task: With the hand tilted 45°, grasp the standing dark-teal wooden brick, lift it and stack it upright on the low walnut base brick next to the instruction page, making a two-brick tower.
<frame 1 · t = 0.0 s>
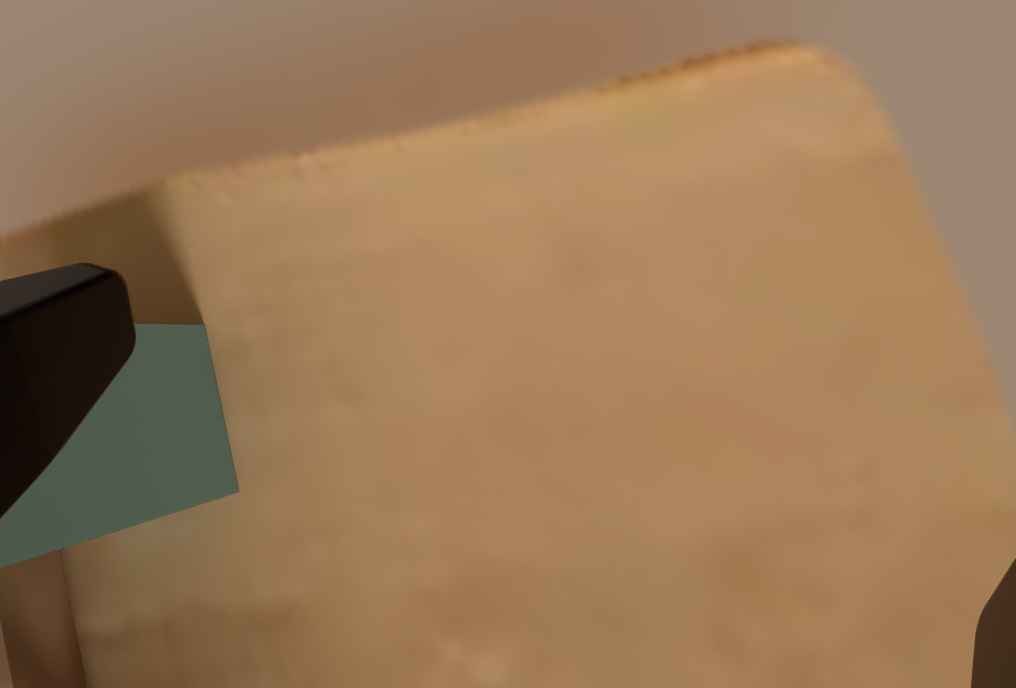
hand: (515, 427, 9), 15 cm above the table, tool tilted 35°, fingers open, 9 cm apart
teal brick: (149, 425, 27), on the table
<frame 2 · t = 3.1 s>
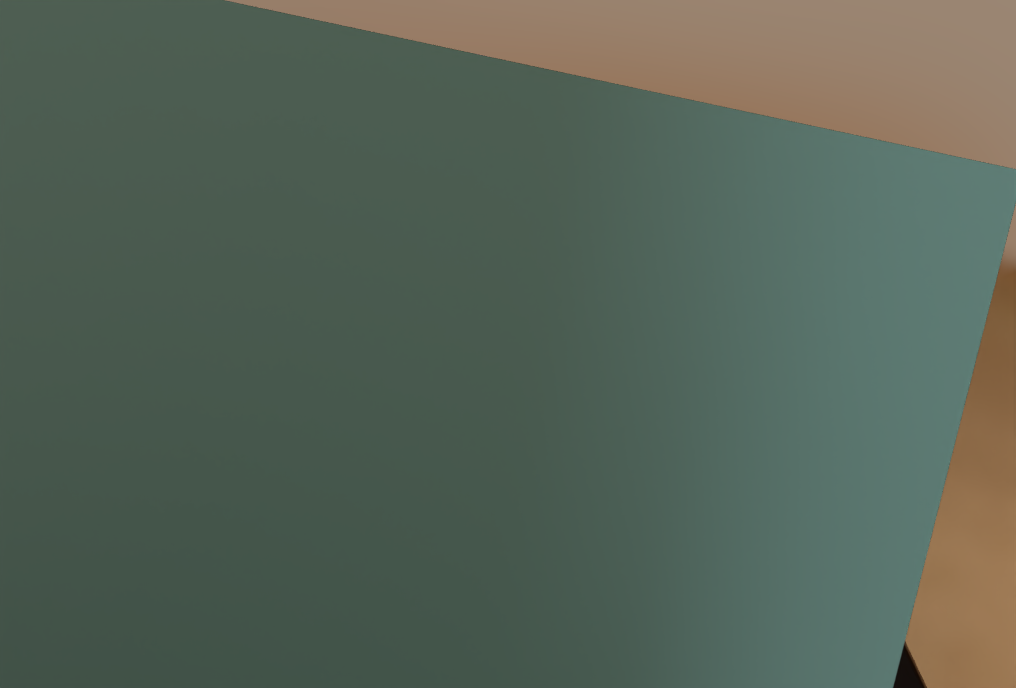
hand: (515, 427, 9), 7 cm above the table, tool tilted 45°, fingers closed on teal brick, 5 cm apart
teal brick: (559, 549, 15), on the table, touching gripper
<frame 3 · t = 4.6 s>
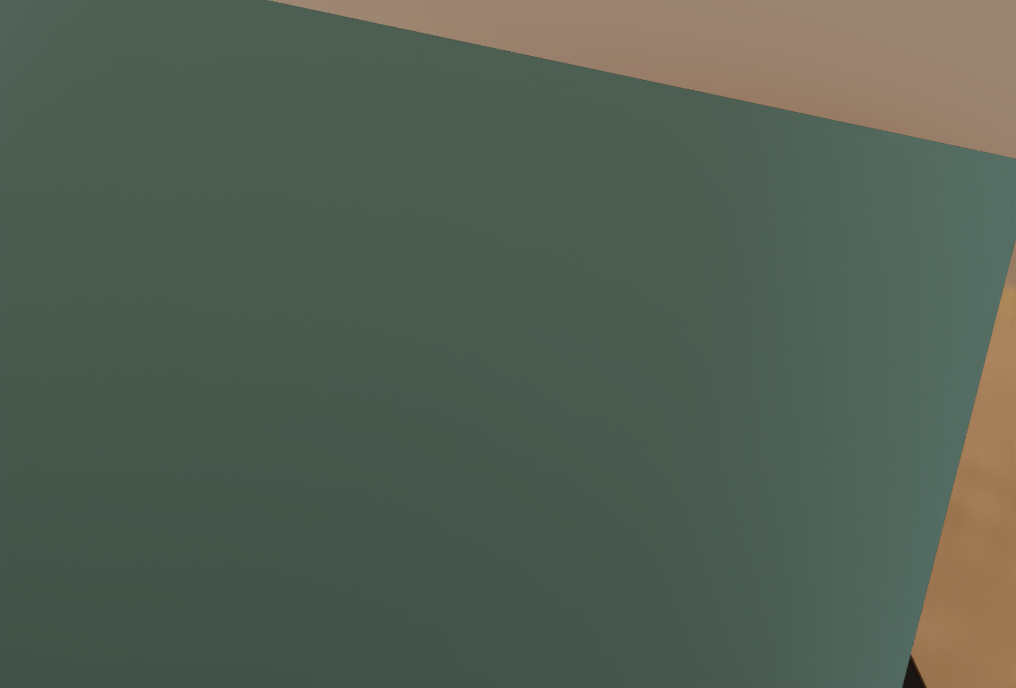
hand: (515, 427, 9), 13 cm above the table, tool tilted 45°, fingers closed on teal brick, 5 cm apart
teal brick: (561, 548, 15), point 7 cm above the table, touching gripper
when the fingers open (11 cm above the table, at t = 6.0 s): teal brick drops 1 cm, point 3 cm above the table.
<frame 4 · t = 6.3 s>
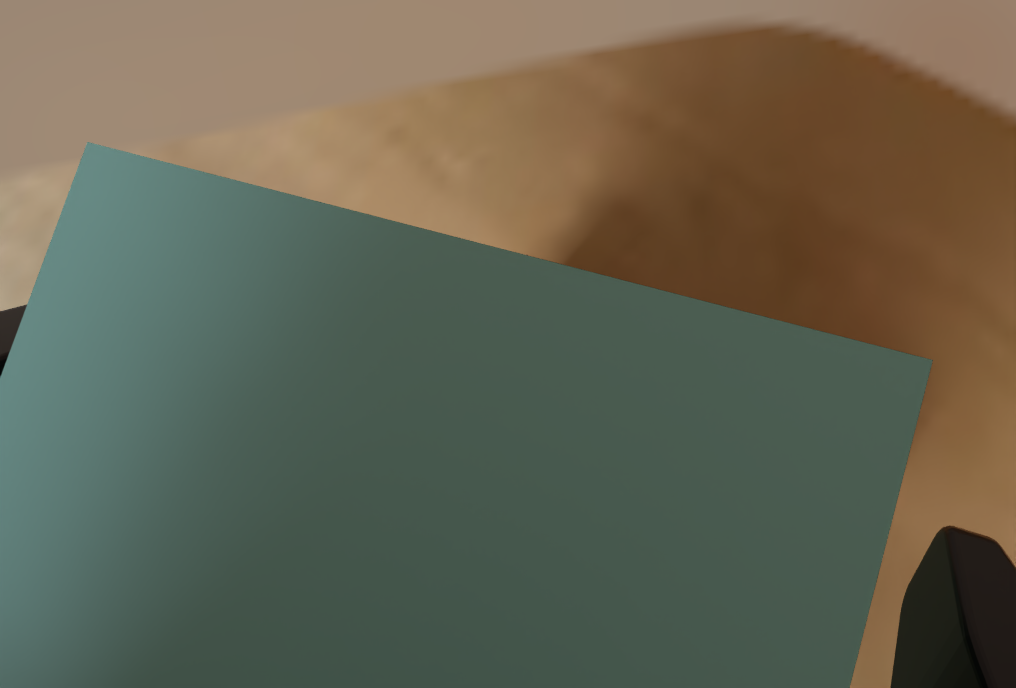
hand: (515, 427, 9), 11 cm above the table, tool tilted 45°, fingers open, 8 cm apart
teal brick: (571, 549, 16), point 3 cm above the table
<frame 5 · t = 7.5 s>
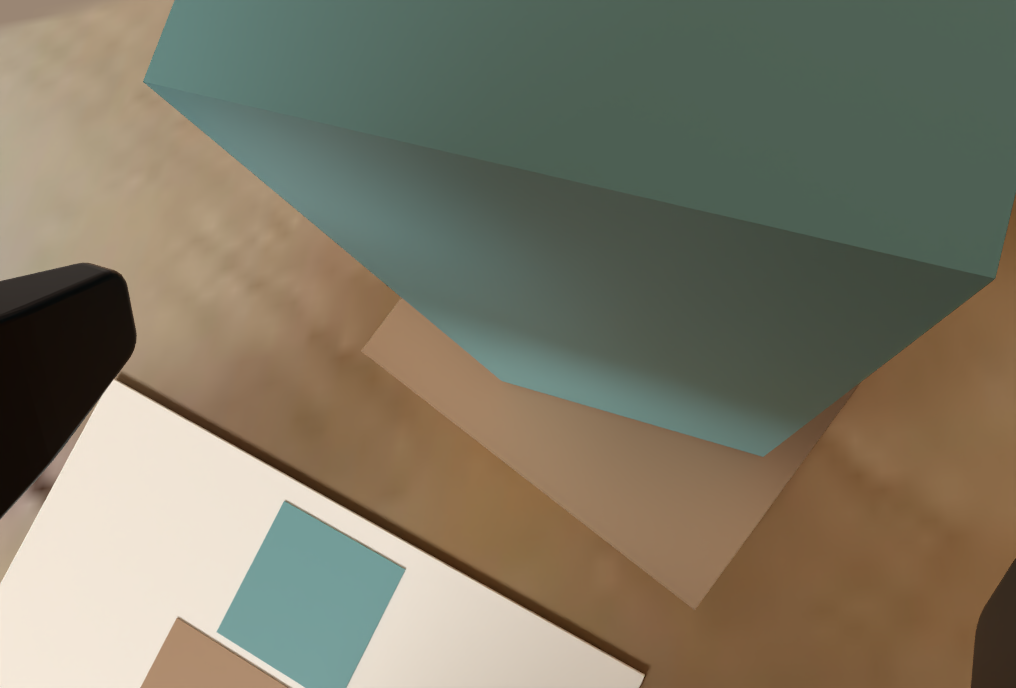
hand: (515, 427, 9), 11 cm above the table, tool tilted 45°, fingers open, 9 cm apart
walnut base brick: (648, 333, 20), on the table
teal brick: (664, 291, 17), point 3 cm above the table
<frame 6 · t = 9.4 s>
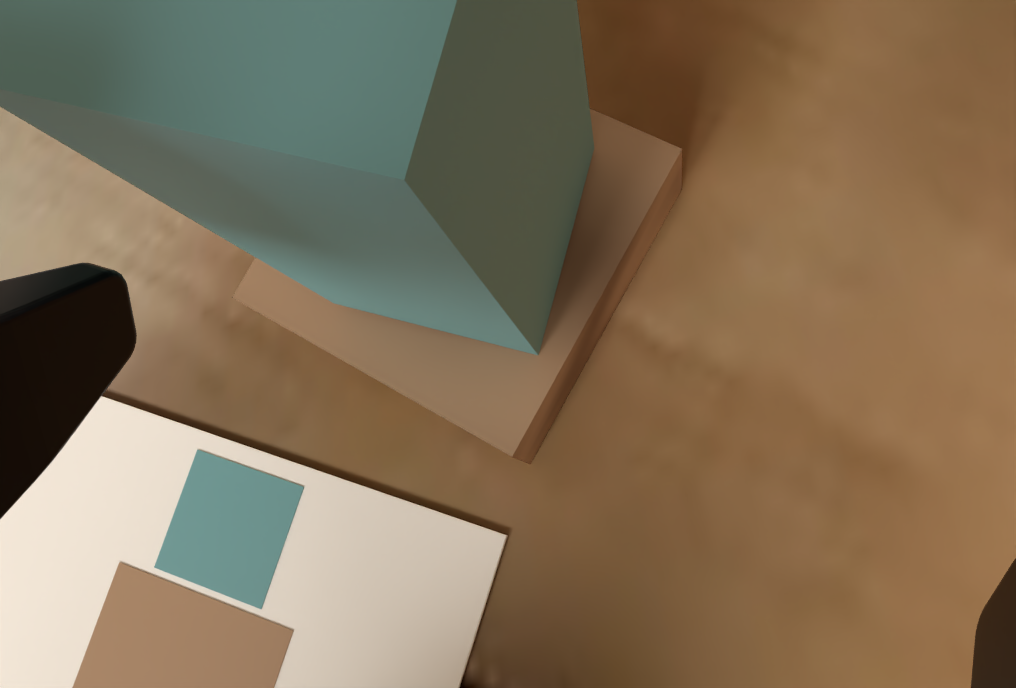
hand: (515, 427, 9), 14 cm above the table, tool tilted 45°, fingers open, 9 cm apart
walnut base brick: (477, 261, 24), on the table
teal brick: (463, 226, 21), point 3 cm above the table
instruction page: (192, 637, 23), on the table
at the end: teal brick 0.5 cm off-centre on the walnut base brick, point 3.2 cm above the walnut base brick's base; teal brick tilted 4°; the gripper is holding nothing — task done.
